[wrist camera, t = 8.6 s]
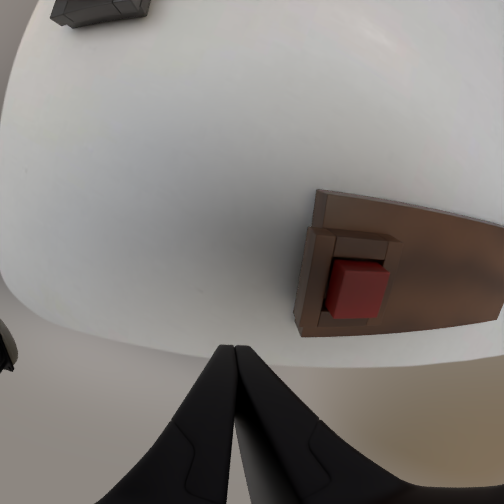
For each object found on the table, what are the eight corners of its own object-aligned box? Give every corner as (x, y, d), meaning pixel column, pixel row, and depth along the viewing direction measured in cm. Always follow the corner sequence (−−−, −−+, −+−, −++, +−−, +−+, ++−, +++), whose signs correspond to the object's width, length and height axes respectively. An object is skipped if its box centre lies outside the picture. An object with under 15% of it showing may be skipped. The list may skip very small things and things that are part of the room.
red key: (365, 304, 18) (377, 318, 16) (323, 304, 17) (333, 319, 16) (377, 261, 17) (390, 272, 15) (333, 258, 16) (344, 270, 15)
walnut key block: (485, 310, 24) (506, 327, 21) (282, 320, 22) (292, 353, 18) (511, 228, 21) (536, 239, 17) (302, 187, 18) (322, 196, 15)
